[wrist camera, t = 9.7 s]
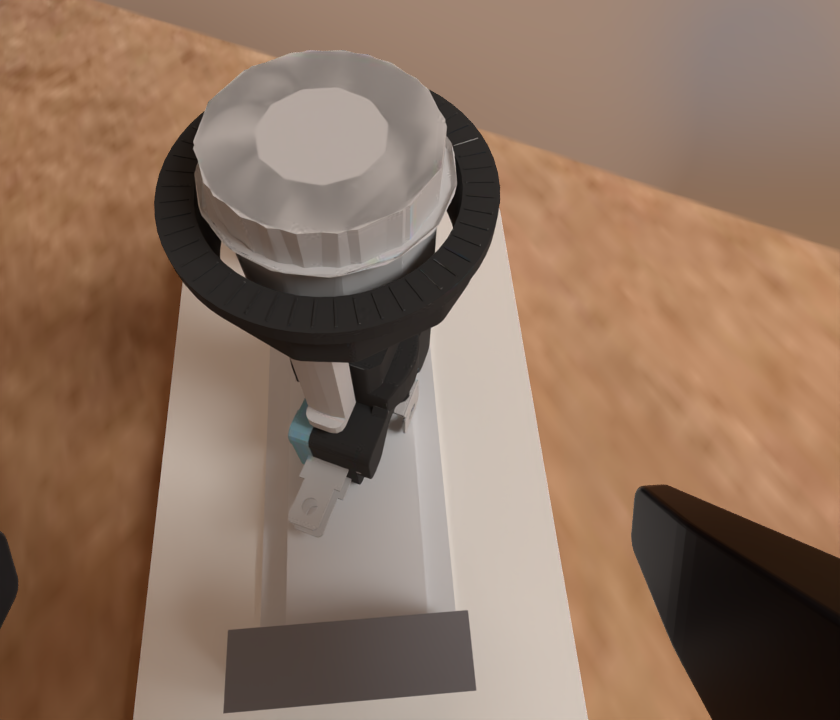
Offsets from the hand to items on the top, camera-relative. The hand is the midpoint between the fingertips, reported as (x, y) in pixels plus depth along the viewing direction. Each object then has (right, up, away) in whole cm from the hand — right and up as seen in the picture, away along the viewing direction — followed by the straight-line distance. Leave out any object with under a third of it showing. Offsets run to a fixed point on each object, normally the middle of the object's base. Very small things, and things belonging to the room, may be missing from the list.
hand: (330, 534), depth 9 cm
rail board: (-1, 0, +10) cm, 10 cm away
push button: (-1, +1, +9) cm, 9 cm away
